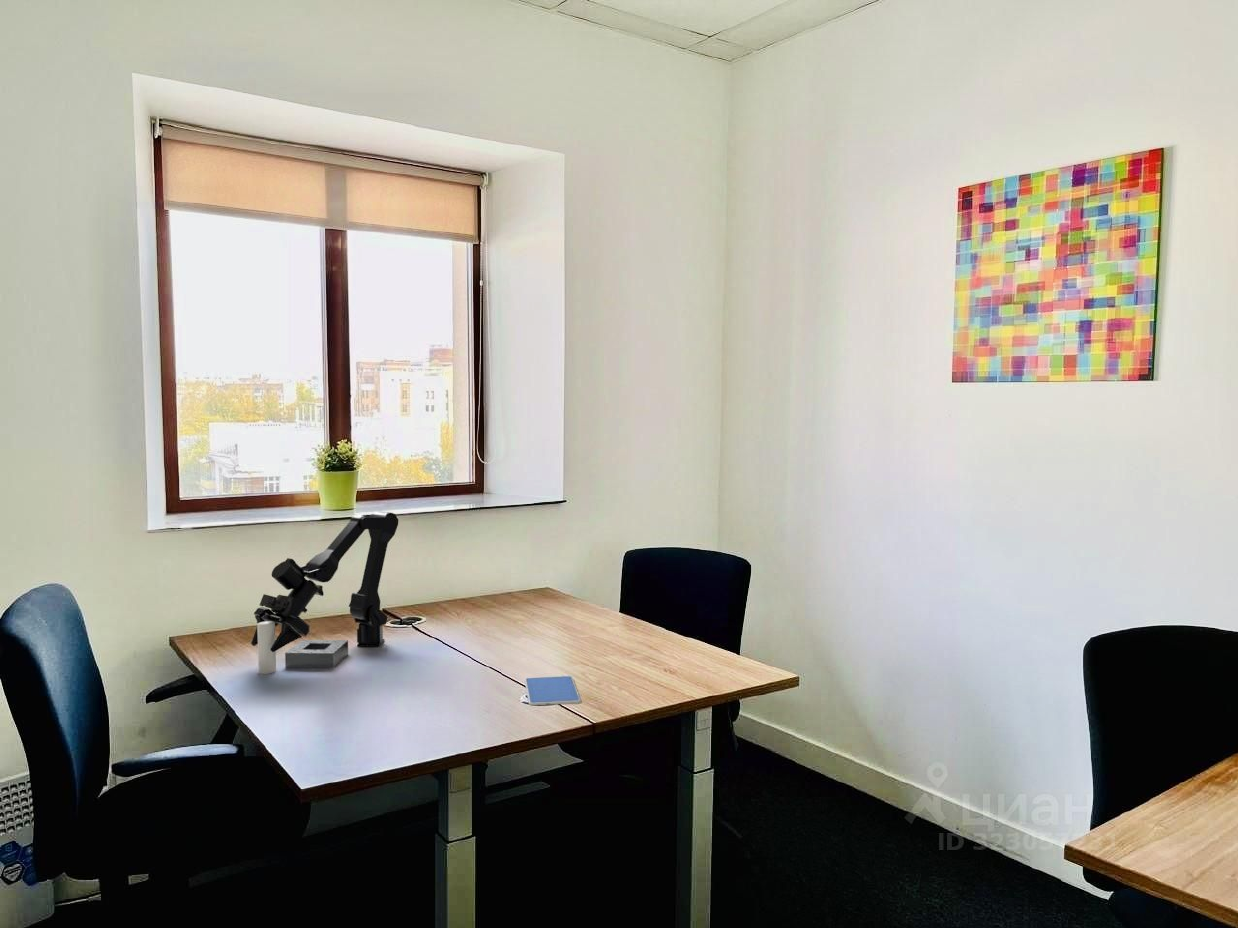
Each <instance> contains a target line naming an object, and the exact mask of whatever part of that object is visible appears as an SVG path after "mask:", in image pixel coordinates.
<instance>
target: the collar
mask: <svg viewBox="0 0 1238 928" xmlns="http://www.w3.org/2000/svg"><path fill="white" fill-rule="evenodd" d="M348 655H349V640H346V639H342V640H340V639H339V640H338V639H302V640H300V641H299V642H297V643H296V644H295V645H294V646H292V647H291V648H290V649H287V651H286V652H285V653H284V659H285V661H284V663H285V668H290V669H291V668H294V669H296V668H297V669H298V668H300V669H301V668H303V669H305V668H307V669H309V668H310V669H311V668H312V669H315V668H316V669H319V668H320V669H334V668H336V666H337V665H338V664H339V663H340V662H342V661H343V660H344V658H346V657H347V656H348Z"/></svg>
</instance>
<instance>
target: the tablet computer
mask: <svg viewBox="0 0 1238 928" xmlns="http://www.w3.org/2000/svg"><path fill="white" fill-rule="evenodd" d="M575 683H576V682H575V680H574V678H573V676H572V675H571V676H570V675H567V676H565V675H563V676H545V677H544V676H543V677H542V676H541V677H528V678H527V677H526V678H525V679H524V684H525V690H526V695H527V701H528V705H529V706H545V705H547V706H548V705H563V704H565V705H569V704H570V705H571V704H580V703H581V702H582V701H581V700H582V699H581V697H580V694H579V693H578V689H577V686H576V684H575Z"/></svg>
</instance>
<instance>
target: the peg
mask: <svg viewBox="0 0 1238 928" xmlns="http://www.w3.org/2000/svg"><path fill="white" fill-rule="evenodd" d="M256 628H257V632H258V644H257V657H258V658H257V659H258V661H257V662H258V664H257V665H258V674H261V675H269V674H273V673H276V672H277V650H276V651H275V652H272V651H271V650H270V649H271V647H272V645H273V644H274V642H275V641H276V627H275V622H272V621H266V622H260V623H258V624H257V623H256Z"/></svg>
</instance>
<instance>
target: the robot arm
mask: <svg viewBox="0 0 1238 928" xmlns="http://www.w3.org/2000/svg"><path fill="white" fill-rule="evenodd" d="M398 526H399V518H398V517H397V515H396V514H395V513H394V512H389V511H381V510H380V511H379V510H376V511H374V512H373V513H371V514H362V515H360V514H359V515H358V514H355V515H353V516H351V518H350V521H349V522H348V523H347V525H345V527H344V528H342V530H341V531H340V533H338V535H337V536H336V537H335V539H333V541H332V542H331V543H330V544H329V545H328V547H327V548H326V549H325V550H324V551H322V552H320V553H318V554H317V555H315V556H314V557H312V558H311V559H310V560H309V561H308V562H307V563H306V564H304V565H302V566H300V565H299V564H298V563H297V562H296V561H295V559H293V558H291V557H287V558H286V560H285V561H282V562H280V563H279V564H277V565H275V566H274V568H273V570H272V571H271V577H272V578H273V579H274V580H275V581H276V582H277V583H278V584H280V585H281V586H282V587H283V588H284V589H286V590H289V591H290V590H291V591H290V592H289V593H288V595H284V594H283V595H282V594H278V595H277V596H272V595H269V594H265V593H263V595H262V597H261V600H260V602H259V606H260V607H257V608H256V610H255V611H254V613H253V615H254V618H255V620H256V625H257V624H258V623H260V622H266V621H272V622H275V628H276V627H277V626H278V625H281V628H280V629H281V631H280V633H279V634H278V636H277V637H276V638H275V640H276V641H275V642H274V644H273V645H272V647H271V649H270V650H271V651H272V652H275V651H276V652H277V651H278V650H280V649H282V648H283V647H285V646H287V645H288V644H290V643H292V642H294V641H296V640H298V639H302V637H307V636H308V634H309V632H310V630H311V629H310V628H311V626H310V625H309V624H308V623H307V622H306V621H305V620H303V619H302V618H301V617H300V616H301V614H302V613H304V614H305V613H307V611H308V609H307V608H306V607H308V604H310V602H311V601H312V599H313V598H314V596H315V595H317V596H321V597H323V596H324V590H323V588H324V587H323V585H320V584H318V585H317V583H315V582H318V583H328V582H329V581H331V580H332V579H333V577H334V576H335V575H336V573H337V571H338V570H339V569H338V568H339V564H340V561H341V559H342V558H343V557H344V555H346V553H347V552H349V550H350V549H351V547H352V546H353V545H354V544H355V543H356V542H357V540H358V539H359V538H360V537H361V535H362V534H363V533H364V532H365V531H366V530H367V531H368V534H369V538H370V542H369V543H370V544H369V547H368V552H367V557H366V562H365V566H364V571H363V576H362V581H361V585H360V588H359V590H358V591H357V592H356V593H355V592H351V596H350V602H349V603H348V604H349V605H348V607H349V613H350V615H351V616H352V617H353V620H354V622H355V624H358V628H357V629H356V641H357V644H356V647H380V646H381V645H382V644H383V643H384V642H385V641H386V640H385V639H384V637H383V636H384V635H383V634H384V633H383V632H384V631H383V627H384V626H383V625H386V624H387V621H388V616H387V615H386V614H385V613H384V612H383V611H382V610H381V598H380V595H379V586H380V582H381V577H382V572H383V568H384V563H385V557H386V553H387V549H388V544H389V542H390V541H391V540H392V538H393V537H394V536H395V534H396V532H397V529H398ZM306 578H307V579H306ZM250 645H251V646H253V647H255V646H256V645H258V632H257V627H256V629H255V631H254V634H253V637H252V640H251V642H250Z"/></svg>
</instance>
